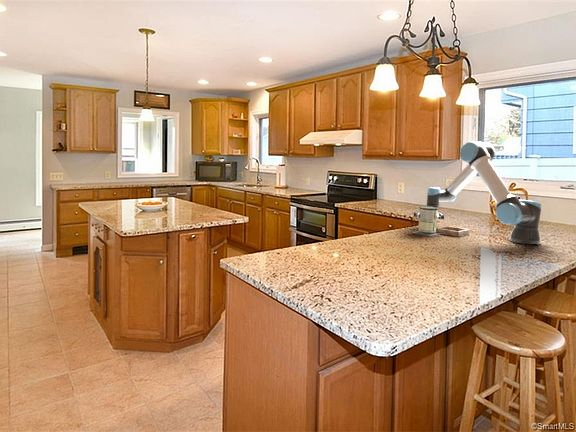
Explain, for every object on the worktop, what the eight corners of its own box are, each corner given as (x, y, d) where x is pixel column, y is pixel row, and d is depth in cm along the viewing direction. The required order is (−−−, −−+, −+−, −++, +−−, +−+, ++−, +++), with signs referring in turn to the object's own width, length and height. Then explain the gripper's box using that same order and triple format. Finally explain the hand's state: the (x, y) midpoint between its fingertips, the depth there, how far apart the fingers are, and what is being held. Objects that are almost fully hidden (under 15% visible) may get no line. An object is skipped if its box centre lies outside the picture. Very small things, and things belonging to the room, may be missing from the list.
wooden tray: (469, 234, 249) (469, 229, 248) (458, 236, 239) (459, 231, 239) (446, 230, 259) (446, 225, 259) (435, 232, 249) (435, 228, 249)
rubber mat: (441, 234, 246) (441, 233, 246) (431, 236, 238) (431, 235, 237) (422, 231, 254) (422, 230, 254) (412, 232, 246) (412, 232, 246)
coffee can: (416, 228, 251) (418, 205, 249) (433, 229, 250) (435, 206, 248) (419, 231, 241) (421, 207, 239) (437, 233, 240) (440, 208, 238)
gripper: (449, 220, 257) (447, 225, 237) (411, 217, 266) (406, 221, 245) (450, 208, 256) (448, 212, 236) (412, 205, 265) (407, 209, 244)
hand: (427, 217), depth 241 cm, fingers closed on coffee can, 10 cm apart
